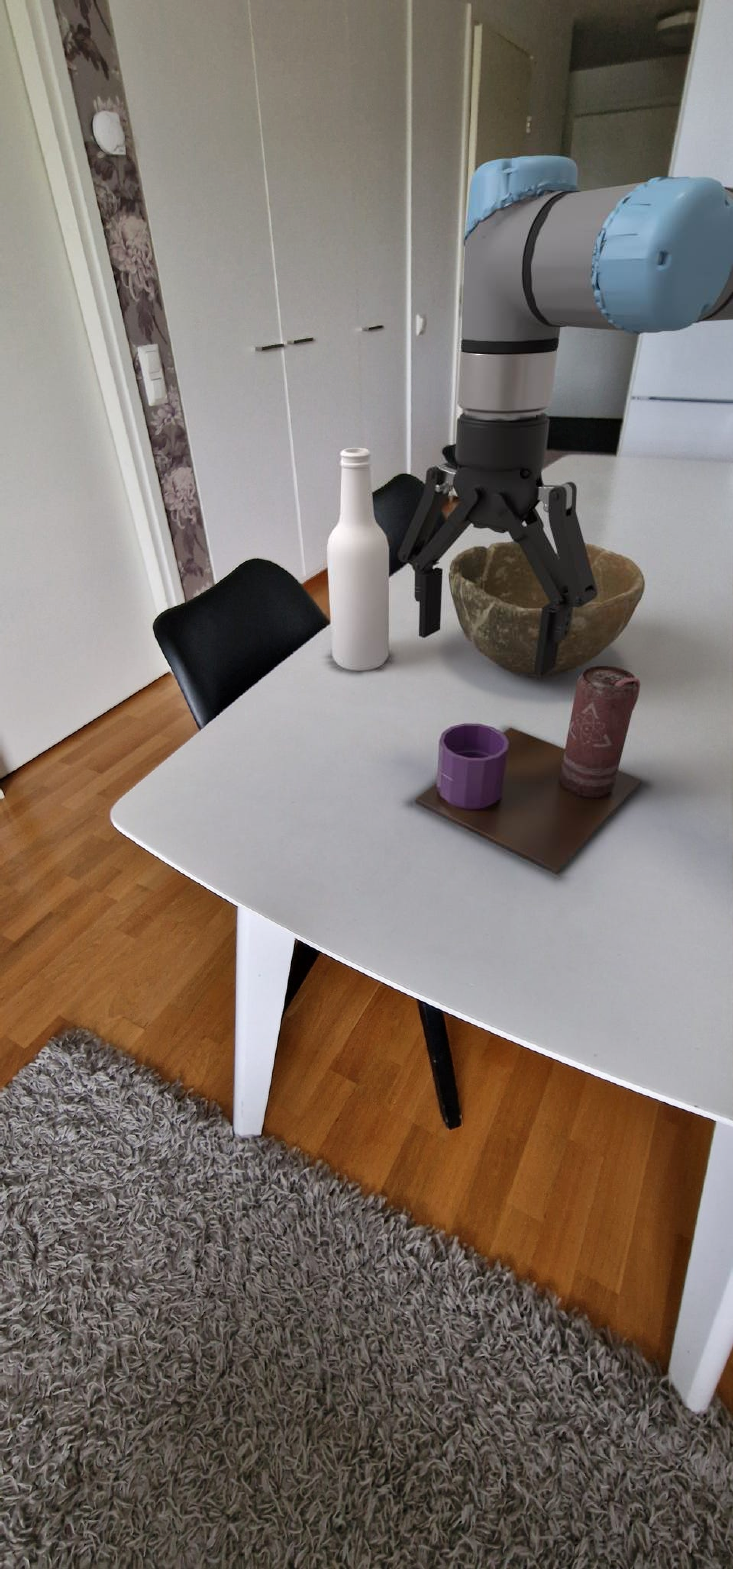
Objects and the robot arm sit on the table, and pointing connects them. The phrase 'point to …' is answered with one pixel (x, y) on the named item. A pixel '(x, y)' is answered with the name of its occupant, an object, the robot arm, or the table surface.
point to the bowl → (538, 606)
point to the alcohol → (358, 571)
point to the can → (598, 730)
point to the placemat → (536, 805)
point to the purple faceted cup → (471, 765)
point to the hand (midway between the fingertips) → (483, 651)
